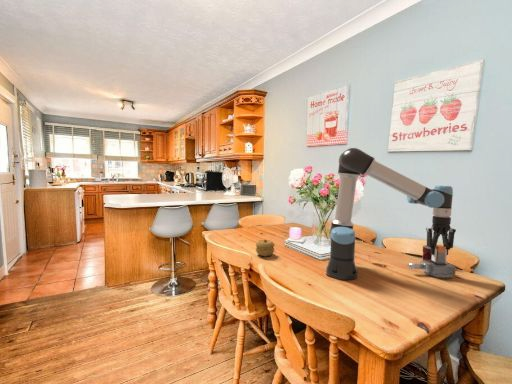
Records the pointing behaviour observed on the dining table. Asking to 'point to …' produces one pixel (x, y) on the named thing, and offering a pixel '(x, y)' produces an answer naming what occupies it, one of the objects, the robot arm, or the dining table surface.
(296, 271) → the dining table surface
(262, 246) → the brown round lump
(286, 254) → the dining table surface
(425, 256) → the mug
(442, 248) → the grey orange upright block
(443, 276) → the grey machine vise
